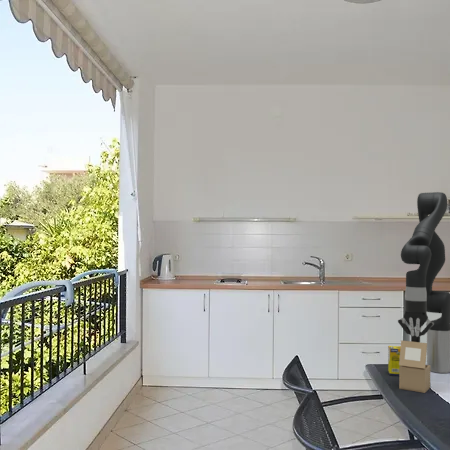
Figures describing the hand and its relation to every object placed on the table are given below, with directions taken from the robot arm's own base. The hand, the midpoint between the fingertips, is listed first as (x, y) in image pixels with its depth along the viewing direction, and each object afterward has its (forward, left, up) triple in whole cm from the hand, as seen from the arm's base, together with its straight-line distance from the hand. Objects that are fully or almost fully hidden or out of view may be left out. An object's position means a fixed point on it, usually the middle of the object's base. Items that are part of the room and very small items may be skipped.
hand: (415, 346), depth 193 cm
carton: (+1, 0, -15) cm, 15 cm away
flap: (+4, 0, -2) cm, 4 cm away
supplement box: (-16, -11, -15) cm, 25 cm away
